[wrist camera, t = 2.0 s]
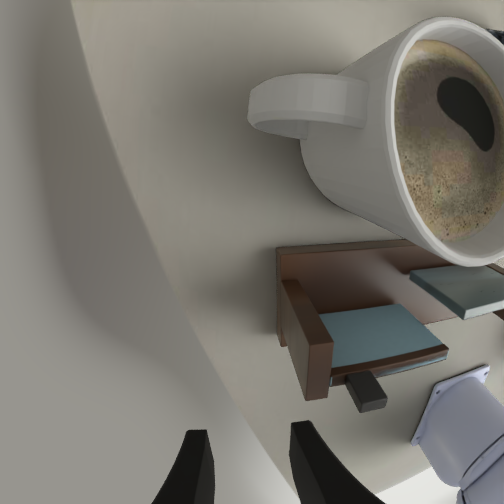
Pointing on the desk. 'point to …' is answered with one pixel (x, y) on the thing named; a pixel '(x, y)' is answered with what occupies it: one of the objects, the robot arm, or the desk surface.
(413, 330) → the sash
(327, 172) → the mug
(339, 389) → the desk surface
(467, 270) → the window
